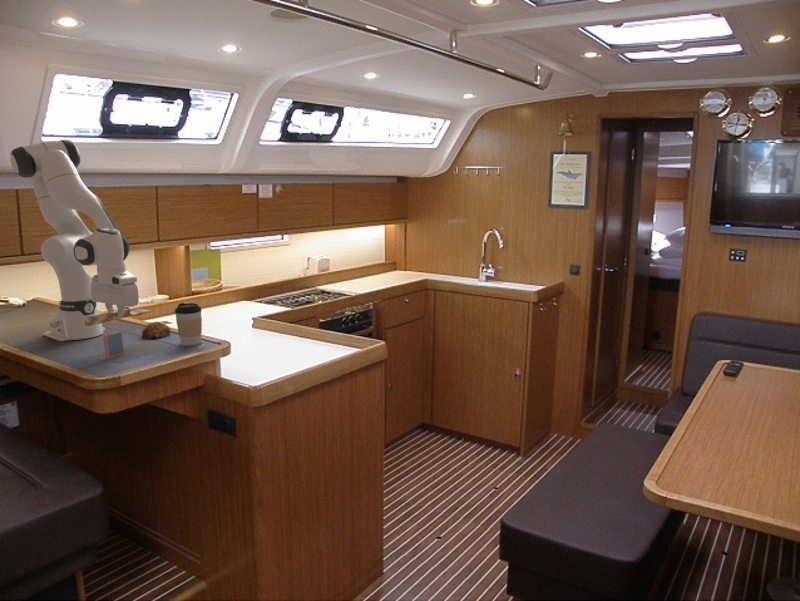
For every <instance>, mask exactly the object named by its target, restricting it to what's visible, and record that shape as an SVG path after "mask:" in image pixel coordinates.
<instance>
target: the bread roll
mask: <svg viewBox="0 0 800 601" xmlns="http://www.w3.org/2000/svg"><path fill="white" fill-rule="evenodd" d="M141 335H142V339H145V340H156V339H161V338H166V337H169V336H171V328H170V327H169V325H167V323H164V322H161V321H153V322H152V321H151V322H150V323H148V324H146V326H145V327H144V328H142V331H141Z"/></svg>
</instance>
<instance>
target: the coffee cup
mask: <svg viewBox="0 0 800 601" xmlns="http://www.w3.org/2000/svg"><path fill="white" fill-rule="evenodd" d="M202 310H203V309H202V307H201V306H200V305H199V304H198V303H194V302H191V303H189V302H188V303H187V302H186V303H185V302H182V303H181V302H180V303H178V305H177V307H176V308H175V309H174V314H175V318H176V319H175V320H176V325H177V326H176V327H177V332H178V336H179V342H180V345H181V346H191V347H193V348H198V347H200V346H202V332H203V331H202V330H203V328H202V327H203V325H202V324H203V320H202Z"/></svg>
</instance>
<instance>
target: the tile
mask: <svg viewBox="0 0 800 601" xmlns="http://www.w3.org/2000/svg"><path fill="white" fill-rule="evenodd" d="M123 337H124V336H123V331H121V330H117V331H113V332H109V333H105V334H102V340H103V349H104V350H103V351H104V352H105V358H106V359H111V358H115V357H118V356H121V355H124V346H125V345H124V338H123Z"/></svg>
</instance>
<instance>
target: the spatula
mask: <svg viewBox="0 0 800 601" xmlns="http://www.w3.org/2000/svg"><path fill="white" fill-rule="evenodd" d="M115 312H117V310H114V311H113V312H109V313H108V312H106V313H105V312H104V313H100V315H96V316H91V317H87V318H84V321H85V325H86V326H92V325H96V324H100V323H102V324H103V323H108V322H112V321H116V320H119V319H124V318H128V317H137V316H141V315H145V314H149V313H151V310H150V309H143V308H136V309H133V310H131V309H130V308H124V310H123V317H121V318H118V317H116V314H115Z"/></svg>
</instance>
